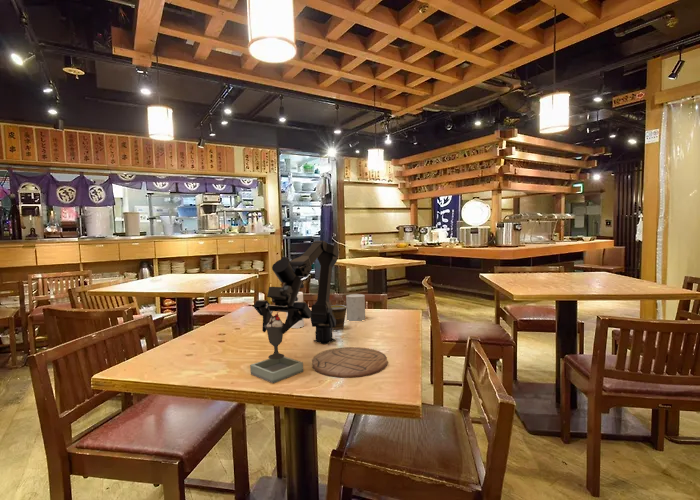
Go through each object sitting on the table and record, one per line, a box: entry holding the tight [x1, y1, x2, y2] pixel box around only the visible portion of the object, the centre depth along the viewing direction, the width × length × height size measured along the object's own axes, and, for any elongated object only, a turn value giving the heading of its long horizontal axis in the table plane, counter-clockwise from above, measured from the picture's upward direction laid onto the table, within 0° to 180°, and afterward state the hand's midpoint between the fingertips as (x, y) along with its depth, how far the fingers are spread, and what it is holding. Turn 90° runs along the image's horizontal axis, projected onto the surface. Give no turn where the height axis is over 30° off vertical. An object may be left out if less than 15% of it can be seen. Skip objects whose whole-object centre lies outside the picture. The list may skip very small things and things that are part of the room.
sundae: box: [264, 310, 285, 359], centre depth 113 cm, size 7×7×15 cm
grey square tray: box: [250, 355, 304, 384], centre depth 114 cm, size 12×12×3 cm
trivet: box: [311, 346, 388, 379], centre depth 121 cm, size 25×25×2 cm
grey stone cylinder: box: [345, 293, 366, 322], centre depth 182 cm, size 10×10×12 cm
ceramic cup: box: [330, 304, 347, 331], centre depth 165 cm, size 13×10×10 cm
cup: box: [285, 291, 305, 329], centre depth 172 cm, size 8×8×16 cm
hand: (273, 332), depth 112 cm, fingers closed on sundae, 7 cm apart
